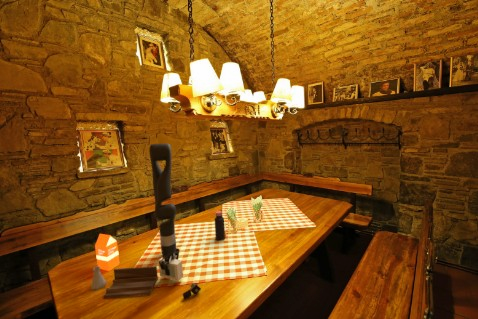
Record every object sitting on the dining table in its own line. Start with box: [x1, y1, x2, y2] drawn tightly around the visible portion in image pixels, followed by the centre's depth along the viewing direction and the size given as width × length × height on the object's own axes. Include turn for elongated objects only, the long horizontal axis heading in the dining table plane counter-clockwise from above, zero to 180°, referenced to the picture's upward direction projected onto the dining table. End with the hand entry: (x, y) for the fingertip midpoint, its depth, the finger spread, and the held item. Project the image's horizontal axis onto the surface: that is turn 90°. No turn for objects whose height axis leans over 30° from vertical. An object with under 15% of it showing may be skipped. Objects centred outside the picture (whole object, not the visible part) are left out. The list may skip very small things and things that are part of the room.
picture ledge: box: [103, 265, 159, 299], centre depth 116 cm, size 12×22×8 cm, turn 92°
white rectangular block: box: [158, 256, 184, 282], centre depth 120 cm, size 12×4×9 cm, turn 67°
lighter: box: [182, 283, 202, 300], centre depth 108 cm, size 8×2×5 cm
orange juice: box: [94, 233, 120, 272], centre depth 136 cm, size 8×9×20 cm
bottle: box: [214, 210, 226, 241], centre depth 164 cm, size 7×7×20 cm
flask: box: [90, 265, 107, 291], centre depth 119 cm, size 7×7×10 cm
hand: (171, 272), depth 120 cm, fingers closed on white rectangular block, 4 cm apart
